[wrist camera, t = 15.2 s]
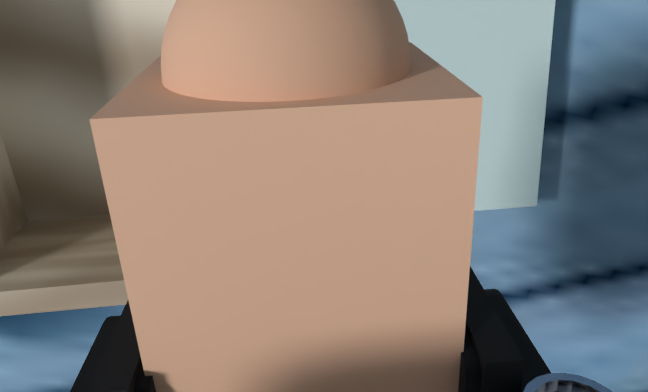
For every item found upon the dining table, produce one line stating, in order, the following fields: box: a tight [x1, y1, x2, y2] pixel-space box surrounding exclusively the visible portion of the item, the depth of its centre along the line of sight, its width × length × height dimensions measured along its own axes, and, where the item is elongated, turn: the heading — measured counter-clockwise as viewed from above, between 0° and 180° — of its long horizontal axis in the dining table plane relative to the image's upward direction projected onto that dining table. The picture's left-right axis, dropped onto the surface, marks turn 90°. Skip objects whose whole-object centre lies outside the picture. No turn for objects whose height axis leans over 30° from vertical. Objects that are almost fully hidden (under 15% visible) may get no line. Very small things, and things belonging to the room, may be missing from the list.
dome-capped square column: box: [89, 0, 483, 392], centre depth 10 cm, size 13×4×4 cm, turn 2°
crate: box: [0, 0, 176, 316], centre depth 20 cm, size 16×14×7 cm
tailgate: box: [394, 0, 555, 211], centre depth 23 cm, size 16×1×9 cm
